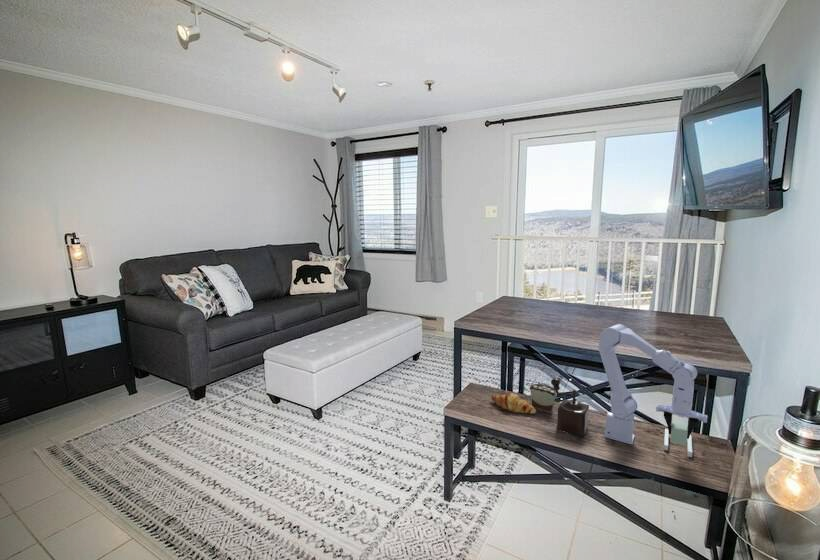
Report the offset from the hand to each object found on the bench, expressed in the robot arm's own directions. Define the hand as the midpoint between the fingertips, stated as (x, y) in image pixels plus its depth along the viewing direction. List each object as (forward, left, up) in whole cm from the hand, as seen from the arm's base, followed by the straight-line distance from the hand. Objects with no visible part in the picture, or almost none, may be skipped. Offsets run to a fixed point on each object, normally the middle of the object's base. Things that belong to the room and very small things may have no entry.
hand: (678, 435), depth 136 cm
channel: (0, +11, -9) cm, 14 cm away
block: (0, 0, -2) cm, 2 cm away
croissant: (-61, +5, -9) cm, 62 cm away
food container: (-50, +13, -9) cm, 52 cm away
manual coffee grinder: (-38, +2, -9) cm, 39 cm away
